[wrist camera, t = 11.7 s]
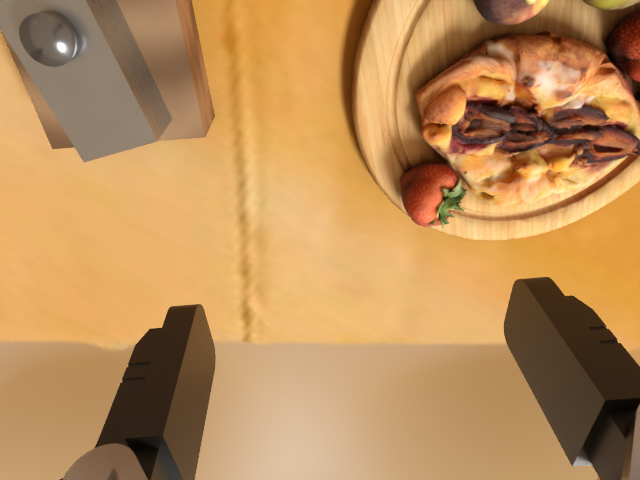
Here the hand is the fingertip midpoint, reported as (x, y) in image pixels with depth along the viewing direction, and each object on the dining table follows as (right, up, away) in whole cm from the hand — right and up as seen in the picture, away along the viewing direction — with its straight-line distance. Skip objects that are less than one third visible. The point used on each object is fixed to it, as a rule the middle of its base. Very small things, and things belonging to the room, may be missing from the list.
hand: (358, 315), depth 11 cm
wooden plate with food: (+17, +16, +27) cm, 36 cm away
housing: (-16, +15, +20) cm, 29 cm away
